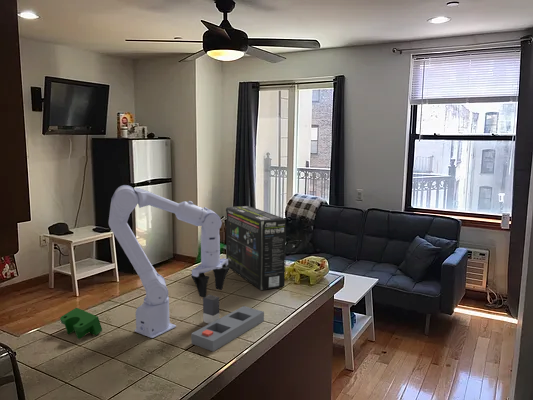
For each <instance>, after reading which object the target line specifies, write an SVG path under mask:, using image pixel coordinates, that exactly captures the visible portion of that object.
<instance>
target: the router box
mask: <svg viewBox="0 0 533 400" xmlns="http://www.w3.org/2000/svg"><path fill="white" fill-rule="evenodd" d="M225 211H226V213H225V214H226V224H225V225H226V232H225V234H226V241H225V243H226V244H225V245H226V247H225V251H226V255H225V257H226V258H225V259H228V265H226V266H227V267H229V270H231V271H233V272H234V273H236V274H237V275H238V276H240V277H242V278H243V280H245V281H248V282H249V283H250V284H251V285H253V286H254V287H256V288H257V289H258V290H260V291H262V290H263V291H264V290H272V289H276V288H279V287H280V288H281V287H284V286H285V281H286V280H285V279H286V277H285V274H286V258H287V257H286V254H287V250H286V249H287V245H286V244H287V222H286V218H284V217H281V216H279V215H276V214H273V213H269V212H267V211H264V210H261V209H259V208H255V207H253V206H249V205H244V206H243V205H242V206H240V205H239V206H226V207H225Z"/></svg>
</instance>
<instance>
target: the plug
mask: <svg viewBox="0 0 533 400" xmlns="http://www.w3.org/2000/svg"><path fill="white" fill-rule="evenodd" d="M202 310H203V311H202V312H203V313H202V314H203V315H202V317H203V323H206V324H207V325H208V324H210V323H212V322H214V321H216V320H218V319H220V318H221V317H220V296H217V295H214V294H213V295H212V294H208V295H207V294H206V297H205V298H204V297H202Z"/></svg>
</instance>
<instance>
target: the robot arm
mask: <svg viewBox="0 0 533 400" xmlns="http://www.w3.org/2000/svg"><path fill="white" fill-rule="evenodd" d="M110 199H111V200H110V207H109V215H108V216H109V217H108V226H109V228H110V230H111V231H112V233H113V235H114V237H115V238H116V240H117V242H118V243H119V245H120V247H121V249H122V250H123V252H124V254H125V255H126V257H127V258H128V260H129V262H130V263H131V265H132V267H133V268H134V270H135V272H136V274H137V276H138V277H139V279H140V281H141V282H140V283H141V284H142V286H143V288H144V289H145V297H144V298H143V302H142V304H141V305H139V306H138V307H137V308H136V310H135V327H136V328H135V329H134V332H136V333H138V334H140V335H142V336H146V337H148V338H151V339H153V338H155V337H158V336H160V335H162V334H164V333H167V332H168V331H171V330H172V329H174V328H176V327H177V325H176V324H173V323H171V321H170V297H169V289H168V287H167V283H166V279H165V278H164V276H163V275H161V274H159V273H158V272H157V270H156V269H155V267H154V266H153V264H152V263H151V261H150V259H149V257H148V256H147V254H146V253H145V251H144V249H143V248H142V245H141V244H140V243H139V241H138V239H137V237H136V235H135V233H134V232H133V230H132V229H131V227H130V225H129V223H128V221H129V218H130V216H131V215H130V214H131V213H132V212H133V211H134V209H135V208H136V207H137V205H138V208H139V209H140V208H143V207H147V206H148V207H149V206H151V207H154V208H157V209H159V210H163V211H166V212H169V213H172V214H175V217H176V219H177V220H179V221H182V222H184V223H187V224H190V225H192V226H195V227H200V228H201V229H200V231H201V232H200V264H198V265H197V266H196V267H195V268H192V269H191V273H190V275H191V276H190V277H191V279H192V280H193V282H194V283H195V287H196V288H197V292H198V294H199V295H198V296H199V297H201V298H203V297H204V298H205V297H206V296H207V293H208V292H207V290H208V289H207V288H208V283H209V279H210V276H209V275H208V276H207V275H206V273H208V272H211V271H213V276H214V286H215V290H218V291H222V290H223V289H224V288H223V287H224V284H225V280H226V277H227V275H228V273H229V272H230V268H229V267H227V266H226V265H228V259H226V258H223V257H222V258H221V243H220V242H221V240H220V239H221V236H220V229H221V227H222V224H223V221H222V220H221V217H220V216H219V214H217V213H216V212H215V211H214V210H212V209H210V208H208V207H206V206H204V207H201V206H198V205H197V204H194V202H193V201H191V200H188V201H186V200H185V201H181V202H179V203H178V202H176V201H173V200H171V199H168V198H166V197H164V196H161V195H159V194H156V193H155V192H152V191H149V190H145V189H143V188H139V187H132V186H130V185H127V184H123V185H120V186H118V187H117V188H116V189H115V191H114V193H113V195H112V197H111V198H110Z"/></svg>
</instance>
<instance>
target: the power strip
mask: <svg viewBox="0 0 533 400" xmlns="http://www.w3.org/2000/svg"><path fill="white" fill-rule="evenodd" d="M219 318H220V319H218V320H216V321H214V322H212V323H210V324H208V323H207V324H206V325H205V326H203V327H200V328H199V329H197V330H195V331H193V332H191V335H190V338H191V339H190V340H191V344H192V345H195V346H197V347H200V348H202V349H205V350H207V351H209V352H210V351H211V352H215V351H216V350H218V349H220V348H221V347H224V346H226V345H227V344H228V343H230V342H232V341H234V340H235V339H237V338H238V337H240V336H241V335H243V334H245V333H247V331H248V332H249V331H250V330H252V329H253V328H254V327H256V326H258V325H260V324H261V323H263V322H264V321H265V312H264V311H262V310H259V309H256V308H252V307H249V306H245V305H243V306H241V307H239V308H237V309H235V310H233V311H231V312H229V313H228V314H226V315H223V316H222V317H219Z"/></svg>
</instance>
